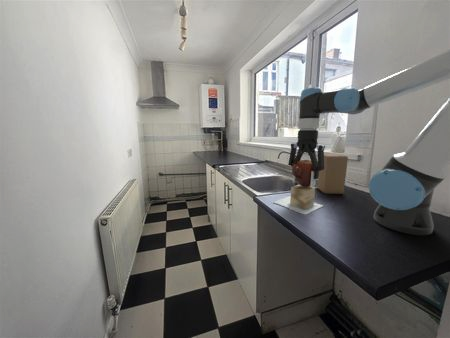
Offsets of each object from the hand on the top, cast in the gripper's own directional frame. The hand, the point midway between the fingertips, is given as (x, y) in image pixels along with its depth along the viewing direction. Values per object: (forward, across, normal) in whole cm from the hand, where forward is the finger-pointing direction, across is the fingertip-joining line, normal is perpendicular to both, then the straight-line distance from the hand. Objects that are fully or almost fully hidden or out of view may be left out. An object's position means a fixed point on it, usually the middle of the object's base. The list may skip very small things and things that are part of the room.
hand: (303, 183), depth 79 cm
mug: (+1, 0, 0) cm, 1 cm away
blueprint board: (+10, +2, 0) cm, 10 cm away
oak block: (+10, 0, 0) cm, 10 cm away
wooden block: (+10, +2, -30) cm, 32 cm away
